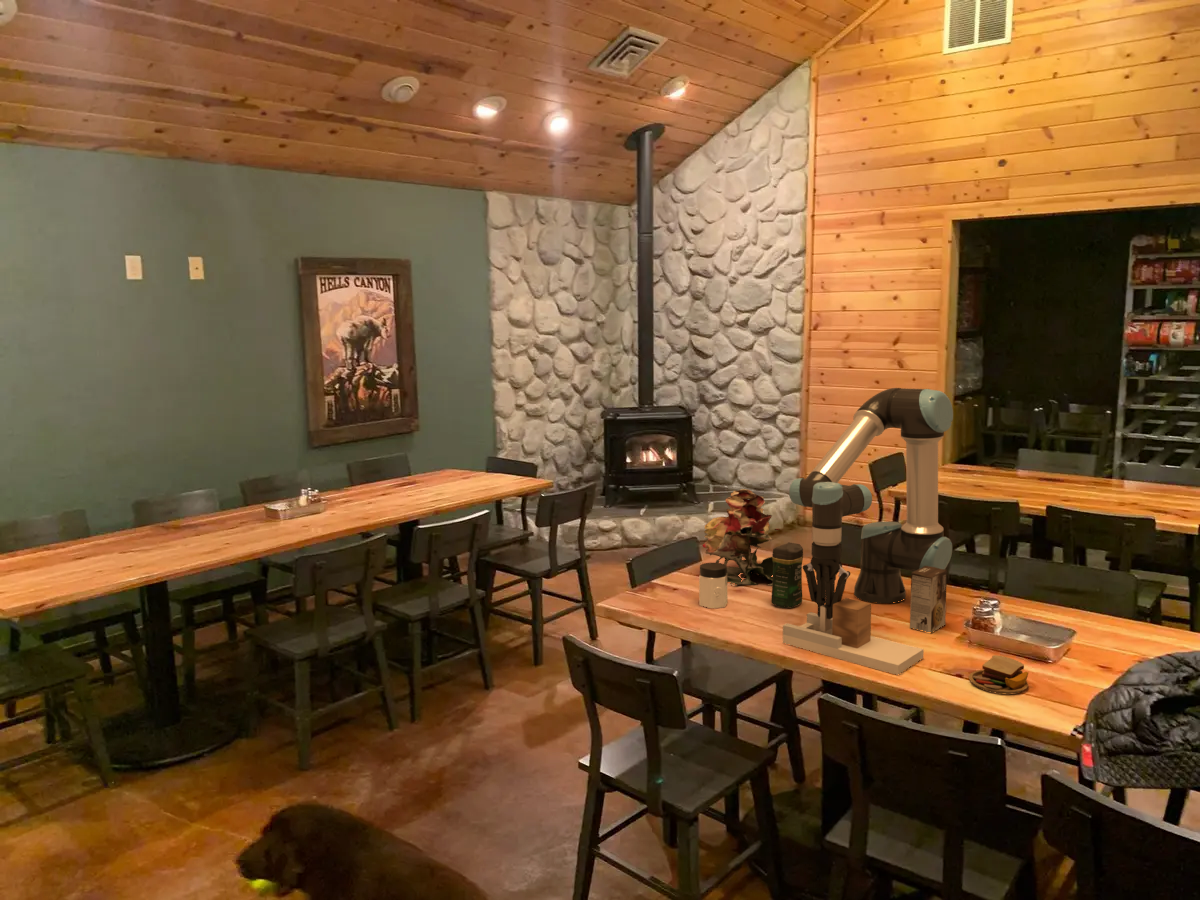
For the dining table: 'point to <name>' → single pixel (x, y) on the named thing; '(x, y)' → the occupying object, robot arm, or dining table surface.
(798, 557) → the coffee jar
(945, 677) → the dining table surface
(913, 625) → the coffee box
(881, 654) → the slotted wooden base
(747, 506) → the rose bouquet
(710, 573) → the jar
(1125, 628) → the dining table surface
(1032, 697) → the dining table surface
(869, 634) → the walnut block
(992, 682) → the toy sandwich meal
